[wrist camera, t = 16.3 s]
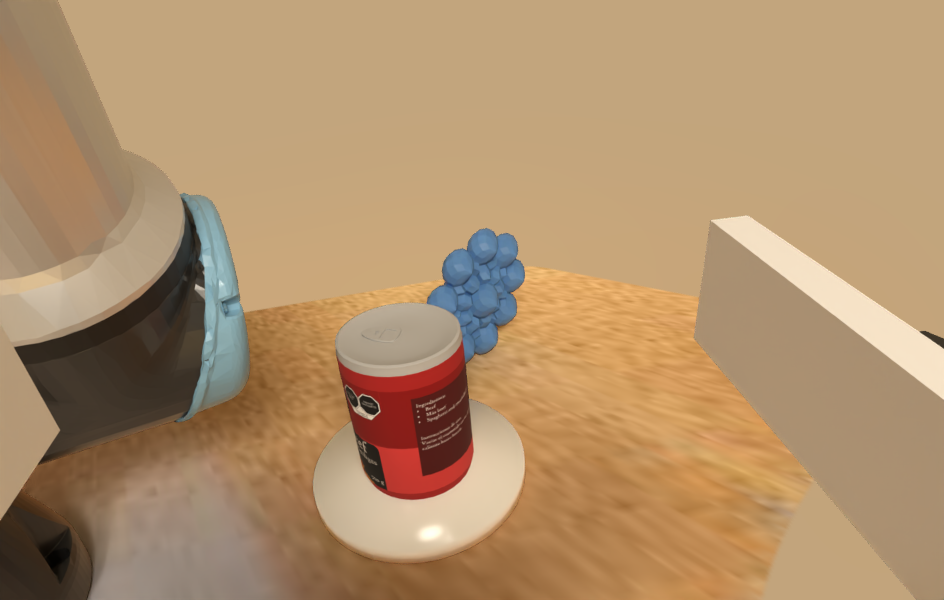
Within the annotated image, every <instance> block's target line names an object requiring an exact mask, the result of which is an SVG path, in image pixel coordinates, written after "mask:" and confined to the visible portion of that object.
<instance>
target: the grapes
mask: <svg viewBox="0 0 944 600" xmlns="http://www.w3.org/2000/svg"><path fill="white" fill-rule="evenodd" d="M517 254H518V246H517V241H516V240H515V238H514V236H512V235H510V234H508V233H505V234H500V235H499V236H497V237H496V235H495V233H494V232H493V231H492V230H490V229H487V228H485V229H480V230H479V231H477V232H476V233H475V234H473V235H472V237H471V238H470V240H469V241H468V246H467V250H465V249H463V248H462V249H458V250H454V251H453V252H452V253H451V254H449V255H448V256H447V257H446V259H445V261H444V263H443V267H442V273H443V279H444V280H445V283H444V285H442V286H439V287H437V288H436V289H435V290H433V291H432V293H431V294H430V296H429V297H428V300H427V304H430V305H434V306H438V307H440V308H443V309H445V310H447V311H449V312H450V313H452V314H453V315H454V316H455V317H456V318H457V319H458V321H459V323H460V329H461V331H462V338H463V345H464V355H465V363H467V362H468V361H470V359H471V358H472V357H473V355H474V353H477V354H479V355H480V354H484V353H487V352H489V351H490V350H492V349H493V348H494V346H495V345H496V344H497V341H498V330H497V327H496V325H497V326H502V325H506V324H507V323H509V322H510V321H511V320H512V319H513V318H514V317H515V315H516V313H517V303H516V299H515V297H514V296H513V294H511V292H514V291H515V290H516V289H518V288H519V287H520V286H521V285H522V283H523V282H524V278H525V271H524V266H523V265H522V263H521V261H519V260H517V259H516V257H517Z"/></svg>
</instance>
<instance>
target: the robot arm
mask: <svg viewBox="0 0 944 600" xmlns="http://www.w3.org/2000/svg"><path fill="white" fill-rule="evenodd" d="M239 301H240V294H239V289H238V280H237V276H236V271H235V268H234V263H233V259H232V255H231V251H230V247H229V244H228V241H227V237H226V233H225V231H224V227H223V224H222V222H221V219H220V216H219V213H218V211H217V209H216V207H215V205H214V204H213V202H212V201H211V200H209V199H208V198H207V197H205V196H201V195H188V194H185V193H183V194H179V193H178V191H177V189H176V188H175V186H174V185H173V183H172V182H171V180H170V179H169V178H168V176H167V175H166V174H165V173H164V172H163V171H162V170H160V169H159V168H158V167H157V166H156V165H155V164H153V163H151V162H150V161H148V160H146V159H144V158H143V157H141V156H138V155H136V154H134V153H132V152H129V151H126V150H123V149H121V146H120V144H119V142H118V139H117V137H116V135H115V133H114V130H113V128H112V125H111V123H110V121H109V119H108V116H107V114H106V111H105V109H104V107H103V104H102V102H101V100H100V97H99V95H98V93H97V90H96V88H95V86H94V84H93V81H92V79H91V77H90V74H89V72H88V70H87V68H86V65H85V63H84V61H83V58H82V56H81V53H80V51H79V49H78V46H77V44H76V42H75V40H74V37H73V35H72V33H71V30H70V28H69V25H68V23H67V21H66V19H65V16H64V14H63V12H62V9H61V7H60V5H59V2H58V0H0V600H86V598H87V595H88V592H89V588H90V583H91V575H92V567H91V560H90V556H89V554H88V551H87V549H86V548H85V546H84V544H83V543H82V541H81V540H80V538H79V536H78V535H77V533H76V531H75V530H74V528H73V527H72V526H71V524H70V523H69V522H68V521H67V520H66V519H65V518H63V517H62V516H61V515H59V514H58V513H56V512H55V511H53V510H51V509H50V508H48V507H47V506H45V505H43V504H42V503H40V502H39V501H37V500H36V499H34V498H32V497H31V496H29V495H28V494H26V493H24V492H23V491H21V489H22V487H23V486H24V484H25V483H26V481H27V480H28V478H29V477H30V475H31V474H32V472H33V471H34V469H35V468H36V466H37V465H40V464H43V463H46V462H49V461H52V460H55V459H58V458H61V457H64V456H67V455H70V454H73V453H77V452H80V451H83V450H86V449H89V448H92V447H95V446H98V445H101V444H104V443H107V442H110V441H113V440H116V439H119V438H122V437H125V436H128V435H132V434H135V433H138V432H141V431H144V430H148V429H151V428H154V427H157V426H160V425H164V424H167V423H170V422H173V421H175V422H182V421H186V420H188V419H190V418H192V417H193V416H194V415H195V414H196V413H198V412H200V411H203V410H205V409H208V408H211V407H213V406H216V405H219V404H221V403H224V402H226V401H229V400H231V399H233V398H234V397H235V396H237V395H238V394H239V393H240V392H241V391H242V390H243V388H244V387H245V385H246V383H247V381H248V378H249V373H250V351H249V342H248V334H247V328H246V322H245V317H244V312H243V309H242V306H241V304H240V302H239ZM694 339H695V340H696V341H697V342H698V344H699V345H700V346H701V347H702V348H703V350H704V351H705V352H706V353H707V354H708V355H709V357H710V358H711V359H712V360H713V361H714V362H715V364H716V365H717V366H718V367H719V368H720V370H721V371H722V372H723V373H724V374H725V375H726V377H727V378H728V379H729V380H730V381H731V382H732V384H733V385H734V386H735V387H736V388H737V390H738V391H739V392H740V393H741V394H742V395H743V397H744V398H745V399H746V400H747V401H748V402H749V404H750V405H751V406H752V407H753V408H754V409H755V411H756V412H757V413H758V414H759V415H760V417H761V418H762V419H763V420H764V421H765V422H766V424H767V425H768V426H769V427H770V428H771V429H772V431H773V432H774V433H775V434H776V435H777V437H778V438H779V439H780V440H781V441H782V442H783V444H784V445H785V446H786V447H787V448H788V449H789V451H790V452H791V453H792V454H793V455H794V457H795V458H796V459H797V460H798V461H799V462H800V464H801V465H802V466H803V467H804V468H805V469H806V471H807V472H808V473H809V474H810V475H811V477H812V478H813V479H814V480H815V481H816V482H817V484H818V485H819V486H820V487H821V488H822V489H823V491H824V492H825V493H826V494H827V495H828V496H829V498H830V499H831V500H832V501H833V502H834V503H835V505H836V506H837V507H838V508H839V509H840V511H841V512H842V513H843V514H844V515H845V516H846V518H847V519H848V520H849V521H850V522H851V523H852V525H853V526H854V527H855V528H856V529H857V531H858V532H859V533H860V534H861V535H862V536H863V538H864V539H865V540H866V541H867V542H868V544H869V545H870V546H871V547H872V548H873V549H874V551H875V552H876V553H877V554H878V555H879V556H880V558H881V559H882V560H883V561H884V562H885V564H886V565H887V566H888V567H889V568H890V569H891V571H892V572H893V573H894V574H895V575H896V576H897V578H898V579H899V580H900V581H901V582H902V583H903V585H904V586H905V587H906V588H907V589H908V590H909V592H910V593H911V594H912V595H913V596H914V598H915V599H916V600H944V339H943V338H941V337H938V336H936V335H934V334H931V333H929V332H926V331H920V332H918V331H917V330H915V329H914V328H912V327H911V326H909V325H908V324H907V323H905V322H904V321H902V320H901V319H899V318H898V317H896V316H895V315H893V314H892V313H890V312H889V311H888V310H886V309H885V308H883V307H882V306H880V305H879V304H877V303H876V302H874V301H873V300H871V299H870V298H868V297H867V296H865V295H864V294H862V293H861V292H860V291H858V290H857V289H855V288H854V287H852V286H851V285H849V284H848V283H846V282H845V281H843V280H842V279H840V278H839V277H838V276H836V275H835V274H833V273H832V272H830V271H829V270H827V269H826V268H824V267H823V266H821V265H820V264H818V263H817V262H815V261H814V260H813V259H811V258H810V257H808V256H807V255H805V254H804V253H802V252H801V251H799V250H798V249H796V248H795V247H793V246H792V245H790V244H789V243H788V242H786V241H785V240H783V239H782V238H780V237H779V236H777V235H776V234H774V233H773V232H771V231H770V230H768V229H767V228H765V227H764V226H762V225H761V224H759V223H758V222H757V221H755V220H754V219H752V218H751V217H749V216H740V217H733V218H725V219H717V220H711V221H710V227H709V234H708V241H707V249H706V256H705V263H704V270H703V277H702V284H701V291H700V298H699V305H698V312H697V319H696V326H695V333H694Z"/></svg>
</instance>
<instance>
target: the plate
mask: <svg viewBox="0 0 944 600" xmlns="http://www.w3.org/2000/svg"><path fill="white" fill-rule="evenodd" d="M469 406H470V416H471V426H472V436H473V447H474V453H473V458H472V462H471V465H470V468H469V470H468V472H467V474H466V475H465V477H464V478H463V479H462V480H461V482H459V483H458V484H457V485H456V486H455V487H453V488H452V489H450V490H448V491H446V492H445V493H442V494H440V495H437V496H435V497H431V498H426V499H419V500H406V499H399V498H395V497H391V496H389V495H386V494H384V493H382V492H381V491H380V490H378V489H377V488H376V487H375V486H374V485H373V484H372V483H371V481H370V480H369V479H368V477H367V476H366V474H365V472H364V470H363V467H362V463H361V459H360V455H359V451H358V446H357V442H356V438H355V434H354V430H353V425H352V421H350V422H349V423H348V424H346V425H345V426H344V427H343V428H342V429H341V430H340V431H339V432H337V433H336V434H335V436H334V437H333V438H332V439H331V440H330V441H329V443H328V444H327V445H326V447H325V448H324V450H323V451H322V453H321V455H320V457H319V459H318V462H317V465H316V468H315V471H314V478H313V493H314V497H315V502H316V505H317V508H318V512H319V515H320V517H321V519H322V522H323V524H324V526H325V527H326V528H327V530H328V531H329V533H330V534H331V535H332V536H333V537H334V538H335V539H336V540H337V541H338V542H339V543H340V544H342V545H343V546H345V547H346V548H347V549H349V550H351V551H353V552H355V553H357V554H359V555H361V556H364V557H367V558H370V559H373V560H377V561H382V562H387V563H399V564H410V563H423V562H429V561H435V560H439V559H443V558H446V557H450V556H453V555H455V554H458V553H460V552H463V551H465V550H467V549H469V548H471V547H473V546H474V545H476V544H478V543H480V542H481V541H483V540H484V539H485V538H487V537H488V536H490V535H491V534H492V533H493V532H495V531H496V530H497V529H498V528H499V527H500V526H501V525H502V524H503V523H504V522H505V521H506V519H507V518H508V517H509V516H510V515H511V513H512V511H513V510H514V508H515V507H516V505H517V503H518V501H519V499H520V496H521V494H522V490H523V487H524V482H525V458H524V449H523V446H522V442H521V439H520V437H519V435H518V433H517V431H516V430H515V429H514V427H513V426H512V424H511V423H510V422H509V421H508V420H507V419H506V418H505V417H504V416H502V415H501V414H500V413H498V412H497V411H496V410H494V409H492V408H491V407H489V406H487V405H485V404H482V403H480V402H478V401H475V400H472V399H469Z"/></svg>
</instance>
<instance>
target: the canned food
mask: <svg viewBox="0 0 944 600" xmlns="http://www.w3.org/2000/svg"><path fill="white" fill-rule="evenodd" d="M335 347H336V356H337V360H338V365H339V371H340V375H341V379H342V383H343V387H344V392H345V396H346V400H347V404H348V408H349V413H350V417H351V421H352V425H353V430H354V434H355V438H356V442H357V446H358V451H359V455H360V459H361V463H362V467H363V470H364V472H365V474H366V476H367V477H368V479H369V480H370V481H371V483H372V484H373V485H374V486H375V487H376V488H377V489H378V490H380V491H381V492H382V493H384V494H386V495H389V496H391V497H395V498H399V499H406V500H419V499H426V498H431V497H435V496H437V495H440V494H442V493H445V492H446V491H448V490H450V489H452V488H453V487H455V486H456V485H457V484H458V483H459V482H461V480H462V479H463V478H464V477H465V475H466V474H467V472H468V470H469V468H470V465H471V462H472V458H473V453H474V447H473V436H472V426H471V416H470V406H469V395H468V385H467V375H466V365H465V355H464V345H463V338H462V331H461V329H460V323H459V321H458V319H457V318H456V317H455V316H454V315H453V314H452V313H450V312H449V311H447V310H445V309H443V308H440V307H438V306H434V305H430V304H423V303H398V304H391V305H385V306H381V307H377V308H374V309H371V310H368V311H366V312H363V313H361V314H359V315H357V316H355V317H354V318H352V319H351V320H349V321H348V322H347V323H346V324H345V325H344V326H343V327H342V328H341V329H340V330H339V332H338V333H337V335H336V339H335Z"/></svg>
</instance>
